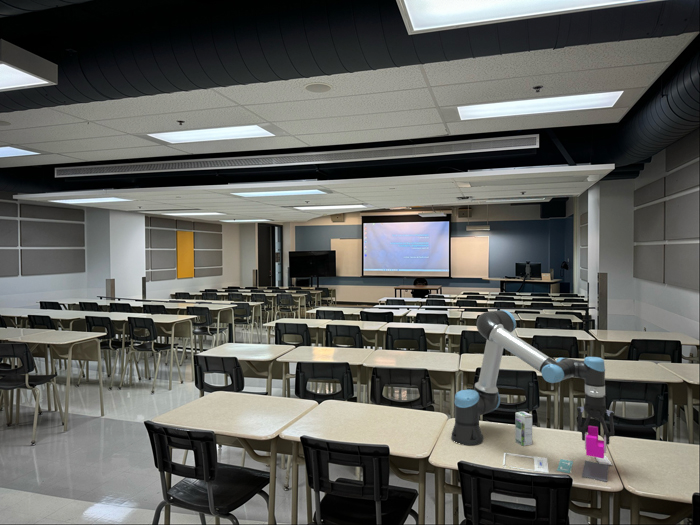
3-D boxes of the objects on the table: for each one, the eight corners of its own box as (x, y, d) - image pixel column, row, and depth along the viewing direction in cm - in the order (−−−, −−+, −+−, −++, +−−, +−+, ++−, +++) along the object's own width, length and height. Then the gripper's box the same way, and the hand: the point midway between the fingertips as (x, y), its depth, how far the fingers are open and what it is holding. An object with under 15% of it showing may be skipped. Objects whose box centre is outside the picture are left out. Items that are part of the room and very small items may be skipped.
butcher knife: (603, 452, 212) (603, 449, 212) (612, 465, 198) (612, 463, 198) (591, 450, 213) (591, 448, 213) (599, 463, 199) (599, 461, 199)
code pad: (556, 470, 194) (556, 470, 194) (560, 459, 205) (560, 458, 205) (569, 473, 192) (569, 473, 192) (573, 461, 203) (573, 461, 203)
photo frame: (548, 472, 192) (502, 465, 198) (548, 474, 192) (502, 468, 198) (546, 457, 205) (504, 452, 212) (546, 460, 205) (504, 454, 212)
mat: (581, 476, 188) (581, 476, 188) (585, 461, 203) (585, 460, 203) (607, 482, 184) (607, 481, 184) (608, 465, 198) (608, 464, 198)
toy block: (603, 458, 185) (603, 439, 185) (586, 455, 188) (586, 437, 188) (604, 445, 198) (604, 427, 198) (588, 442, 201) (588, 425, 201)
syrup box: (514, 442, 225) (514, 412, 225) (524, 440, 227) (524, 410, 227) (522, 446, 220) (522, 416, 220) (532, 444, 222) (532, 414, 222)
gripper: (568, 394, 195) (569, 448, 195) (621, 400, 185) (622, 458, 185) (570, 389, 201) (571, 442, 201) (621, 395, 192) (622, 451, 192)
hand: (595, 449), depth 193 cm, fingers closed on toy block, 6 cm apart
